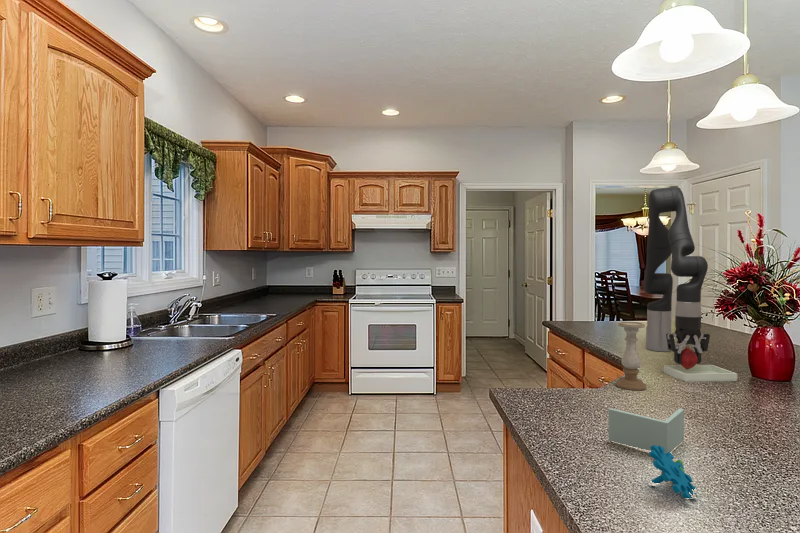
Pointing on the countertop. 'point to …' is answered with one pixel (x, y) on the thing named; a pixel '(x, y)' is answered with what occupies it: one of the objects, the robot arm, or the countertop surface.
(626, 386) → the candle holder
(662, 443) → the right angle wall
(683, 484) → the teal irregular piece
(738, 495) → the countertop surface
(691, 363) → the pomegranate
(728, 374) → the tray
